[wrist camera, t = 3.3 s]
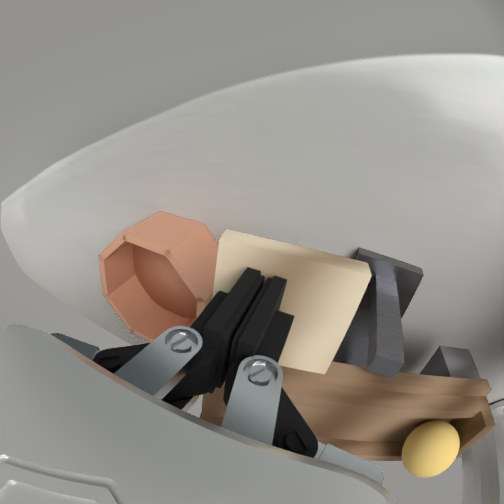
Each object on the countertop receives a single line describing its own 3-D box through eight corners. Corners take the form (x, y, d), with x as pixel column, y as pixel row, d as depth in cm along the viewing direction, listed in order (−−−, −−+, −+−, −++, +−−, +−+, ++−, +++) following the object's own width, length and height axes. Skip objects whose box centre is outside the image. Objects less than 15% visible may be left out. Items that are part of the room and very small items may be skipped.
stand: (421, 268, 19) (444, 353, 12) (354, 388, 26) (339, 467, 18) (359, 247, 20) (353, 327, 13) (306, 374, 27) (281, 452, 19)
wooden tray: (513, 276, 14) (564, 346, 8) (420, 408, 21) (431, 475, 14) (243, 202, 15) (197, 273, 9) (217, 374, 22) (190, 449, 16)
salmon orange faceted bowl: (238, 234, 23) (209, 263, 19) (223, 330, 28) (200, 366, 24) (134, 203, 25) (95, 222, 21) (137, 293, 30) (107, 319, 26)
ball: (461, 406, 14) (477, 454, 11) (430, 436, 16) (440, 480, 12) (417, 410, 14) (431, 466, 11) (386, 440, 16) (394, 489, 12)
